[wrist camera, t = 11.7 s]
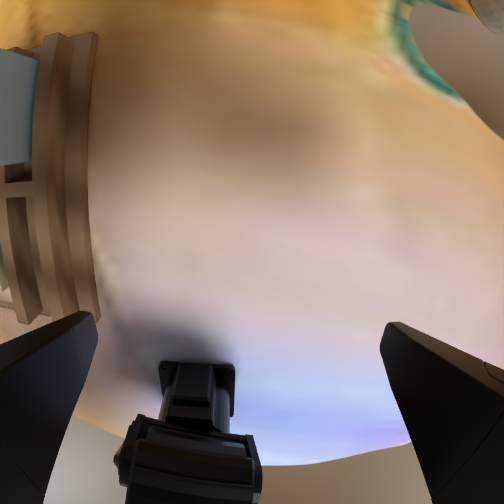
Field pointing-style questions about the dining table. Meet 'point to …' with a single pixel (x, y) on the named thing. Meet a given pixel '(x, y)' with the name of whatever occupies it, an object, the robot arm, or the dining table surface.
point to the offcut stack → (4, 281)
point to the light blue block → (16, 106)
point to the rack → (52, 190)
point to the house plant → (490, 14)
